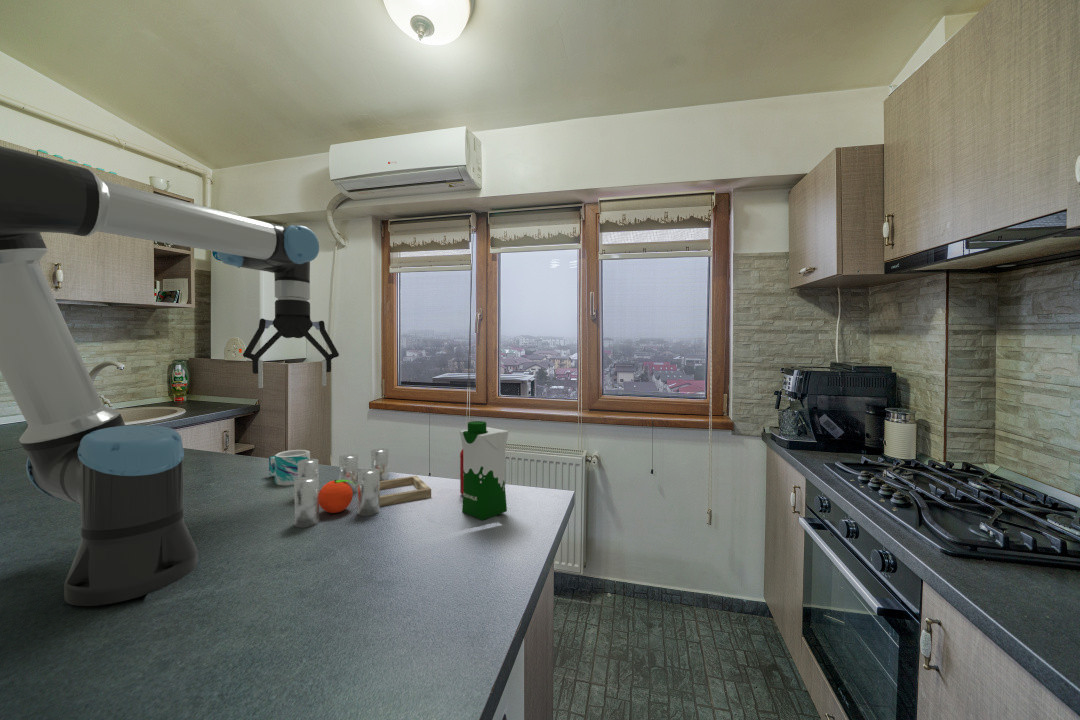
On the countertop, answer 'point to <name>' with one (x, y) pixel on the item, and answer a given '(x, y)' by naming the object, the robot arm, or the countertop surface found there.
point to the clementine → (335, 496)
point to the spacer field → (348, 470)
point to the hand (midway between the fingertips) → (293, 386)
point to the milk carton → (483, 470)
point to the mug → (286, 466)
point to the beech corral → (404, 496)
